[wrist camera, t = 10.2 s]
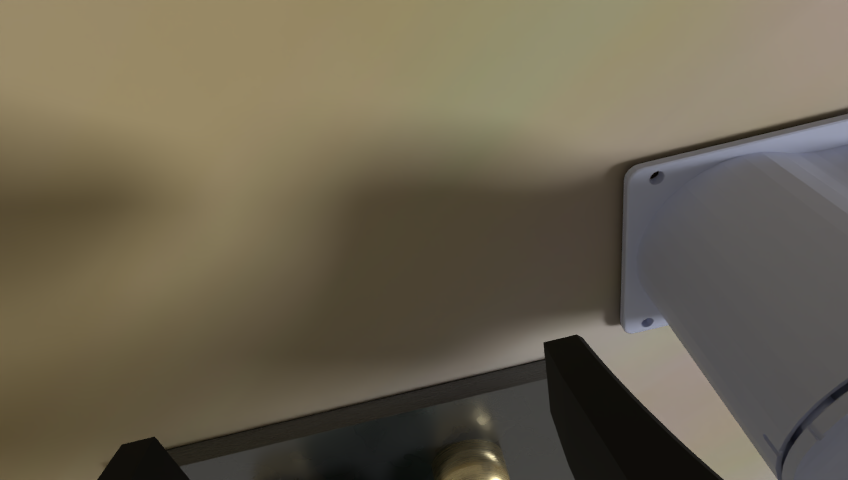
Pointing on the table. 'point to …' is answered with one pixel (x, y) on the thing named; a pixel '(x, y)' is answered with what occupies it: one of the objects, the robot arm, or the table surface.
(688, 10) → the table surface
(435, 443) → the chassis
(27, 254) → the table surface
